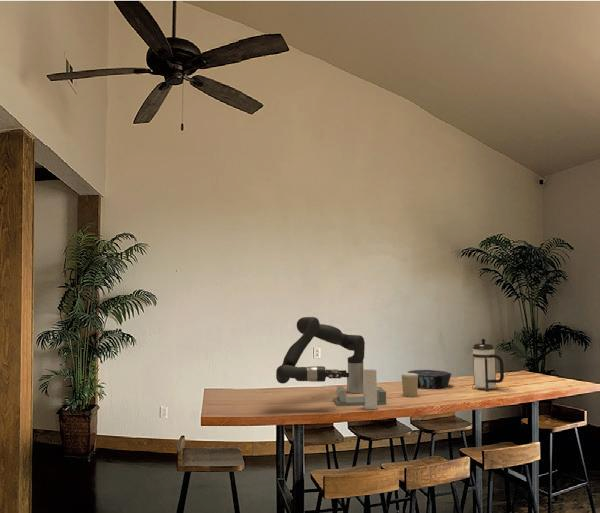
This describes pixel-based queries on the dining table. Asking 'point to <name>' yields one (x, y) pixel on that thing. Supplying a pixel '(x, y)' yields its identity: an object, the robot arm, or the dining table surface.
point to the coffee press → (485, 366)
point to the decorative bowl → (432, 378)
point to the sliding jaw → (341, 394)
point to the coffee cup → (410, 384)
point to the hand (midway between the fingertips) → (347, 373)
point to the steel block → (370, 389)
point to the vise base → (359, 400)
